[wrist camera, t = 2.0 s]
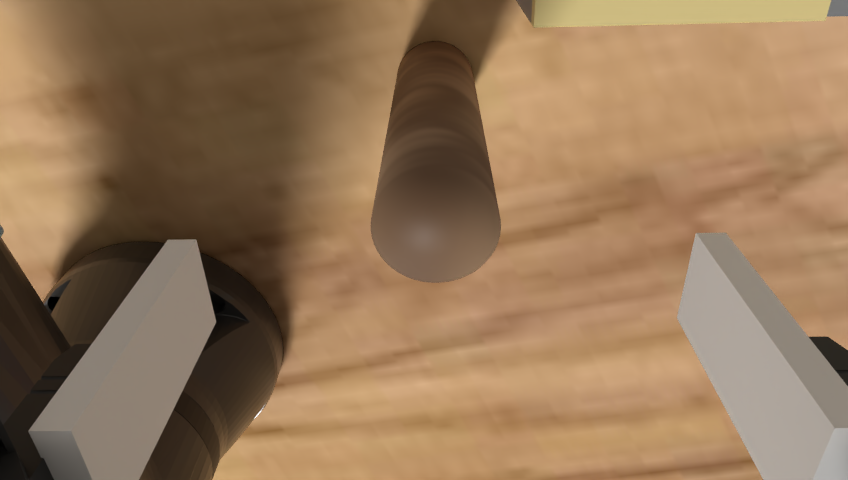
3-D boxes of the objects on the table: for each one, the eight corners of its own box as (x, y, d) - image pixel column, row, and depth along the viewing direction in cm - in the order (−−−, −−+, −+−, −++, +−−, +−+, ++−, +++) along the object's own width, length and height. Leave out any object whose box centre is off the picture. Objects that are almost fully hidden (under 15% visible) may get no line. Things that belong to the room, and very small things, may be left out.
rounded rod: (398, 117, 34) (375, 283, 20) (395, 42, 32) (366, 170, 18) (472, 115, 34) (498, 282, 20) (473, 40, 32) (503, 167, 18)
